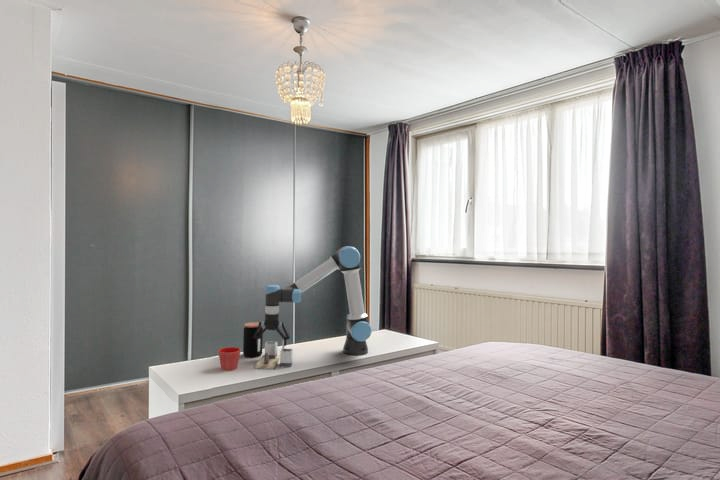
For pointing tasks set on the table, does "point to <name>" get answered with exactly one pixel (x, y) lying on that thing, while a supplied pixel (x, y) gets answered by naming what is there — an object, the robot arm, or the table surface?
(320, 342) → the table surface
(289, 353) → the sleeve
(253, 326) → the coffee jar
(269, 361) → the pin board
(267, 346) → the sleeve
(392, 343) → the table surface
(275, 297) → the robot arm
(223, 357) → the flower pot
